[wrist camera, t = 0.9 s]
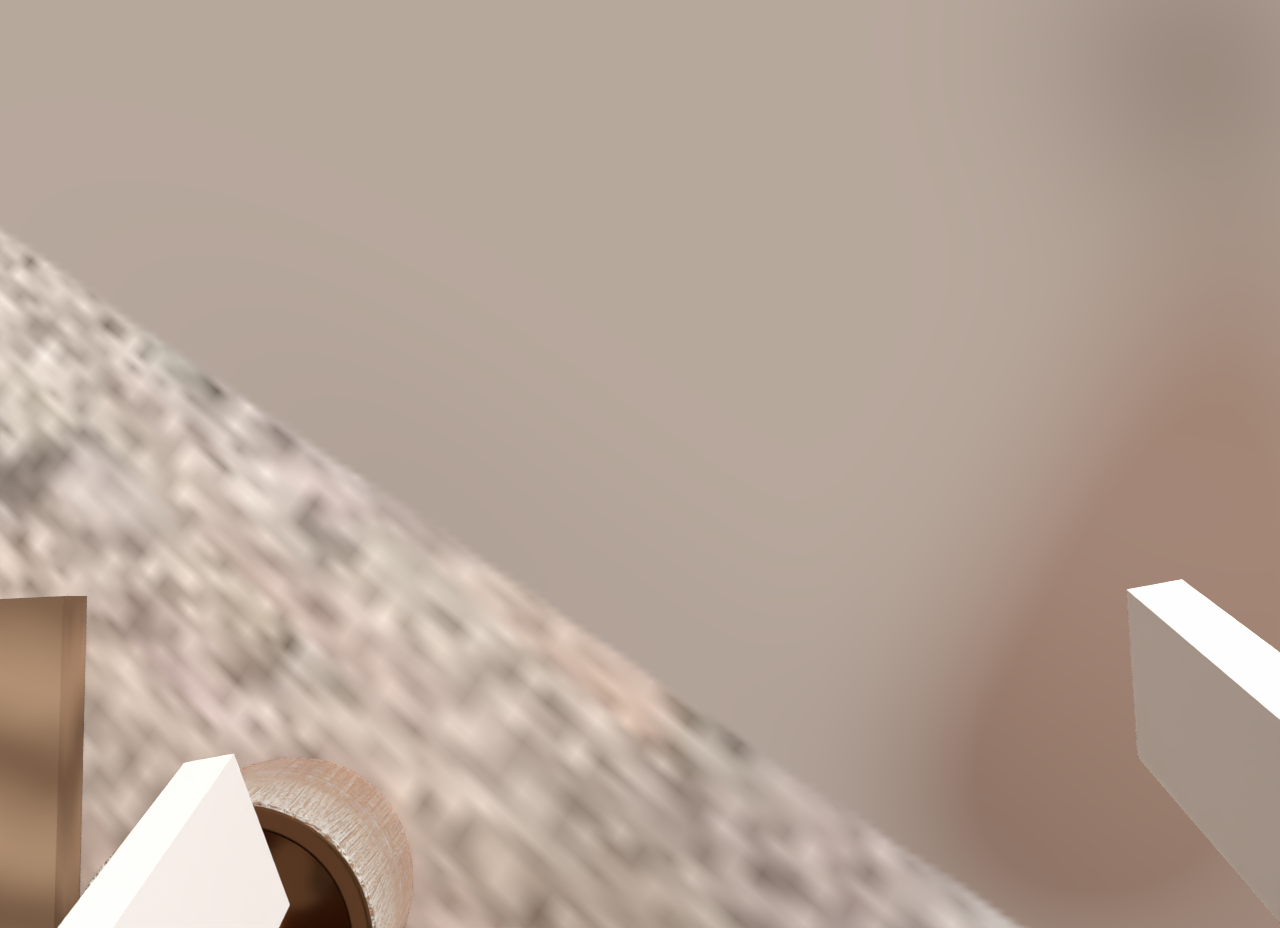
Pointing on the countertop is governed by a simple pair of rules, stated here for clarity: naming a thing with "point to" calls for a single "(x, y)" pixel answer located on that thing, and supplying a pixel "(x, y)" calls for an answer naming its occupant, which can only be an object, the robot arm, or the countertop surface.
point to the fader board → (41, 758)
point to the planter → (331, 845)
